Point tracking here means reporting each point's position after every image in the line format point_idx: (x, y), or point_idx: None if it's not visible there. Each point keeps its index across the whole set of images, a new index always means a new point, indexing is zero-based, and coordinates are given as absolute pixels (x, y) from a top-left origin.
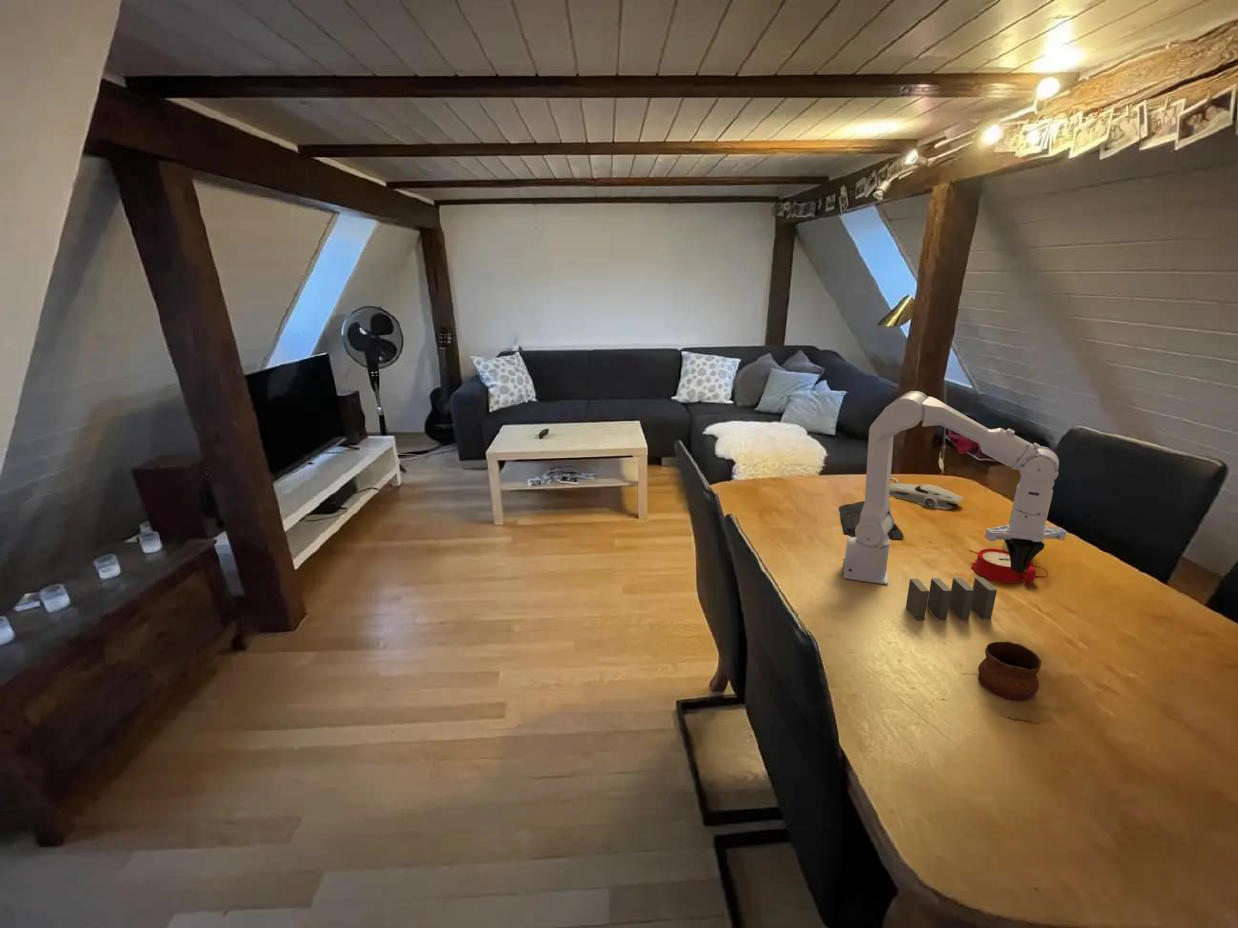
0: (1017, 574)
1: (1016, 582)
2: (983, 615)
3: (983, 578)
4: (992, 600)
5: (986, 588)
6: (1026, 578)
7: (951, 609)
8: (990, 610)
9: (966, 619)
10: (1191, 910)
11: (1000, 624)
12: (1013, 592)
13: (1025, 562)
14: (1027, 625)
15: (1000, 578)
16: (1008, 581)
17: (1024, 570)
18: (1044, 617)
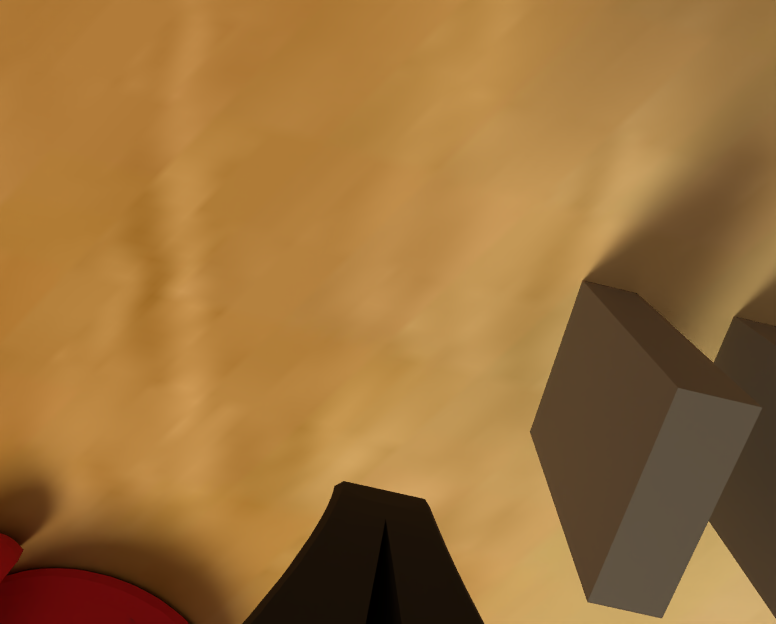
0: (24, 621)
1: (62, 569)
2: (647, 306)
3: (600, 584)
4: (657, 342)
5: (740, 442)
6: (1, 569)
7: None
8: (621, 308)
9: (750, 321)
10: None
11: (571, 213)
12: (164, 492)
13: (365, 600)
14: (395, 152)
15: (148, 621)
16: (113, 587)
17: (343, 498)
18: (193, 204)
